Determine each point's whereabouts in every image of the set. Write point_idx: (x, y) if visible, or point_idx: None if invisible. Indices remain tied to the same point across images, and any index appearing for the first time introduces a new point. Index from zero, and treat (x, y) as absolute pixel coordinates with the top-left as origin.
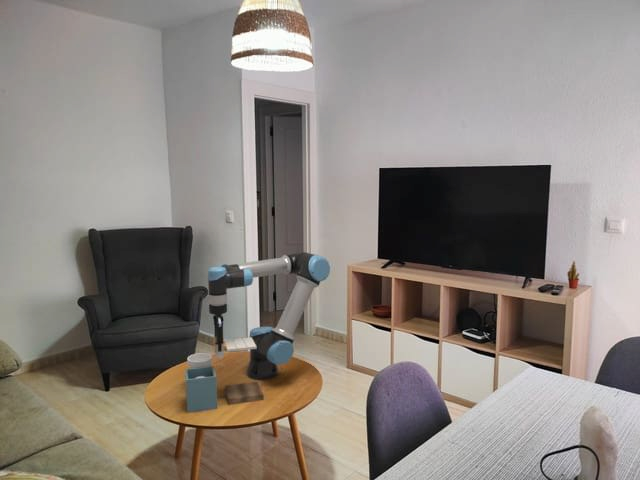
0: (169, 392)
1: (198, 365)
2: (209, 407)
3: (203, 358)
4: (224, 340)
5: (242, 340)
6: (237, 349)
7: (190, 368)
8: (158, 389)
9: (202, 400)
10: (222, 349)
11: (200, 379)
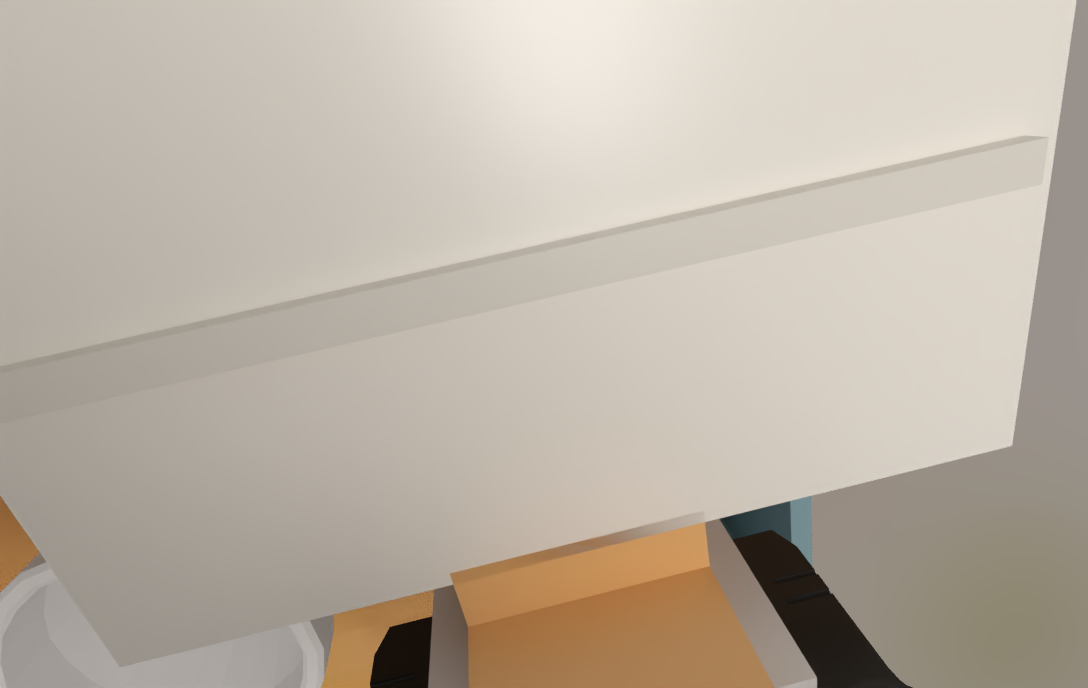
0: (379, 617)
1: (331, 617)
2: None
3: (45, 610)
4: (157, 643)
5: None
6: (1023, 124)
7: (283, 647)
8: (332, 683)
9: None
10: (727, 541)
11: (807, 530)
